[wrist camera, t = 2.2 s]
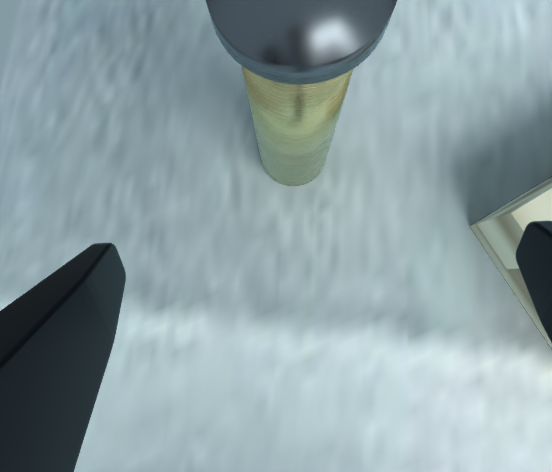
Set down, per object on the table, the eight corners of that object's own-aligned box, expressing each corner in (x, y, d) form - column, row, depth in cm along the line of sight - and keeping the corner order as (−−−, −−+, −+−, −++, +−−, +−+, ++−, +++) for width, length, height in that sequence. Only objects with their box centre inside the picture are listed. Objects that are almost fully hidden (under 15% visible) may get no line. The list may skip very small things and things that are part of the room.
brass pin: (278, 210, 22) (266, 101, 9) (236, 140, 22) (166, -58, 9) (350, 167, 22) (441, 0, 9) (307, 100, 23) (334, -151, 10)
